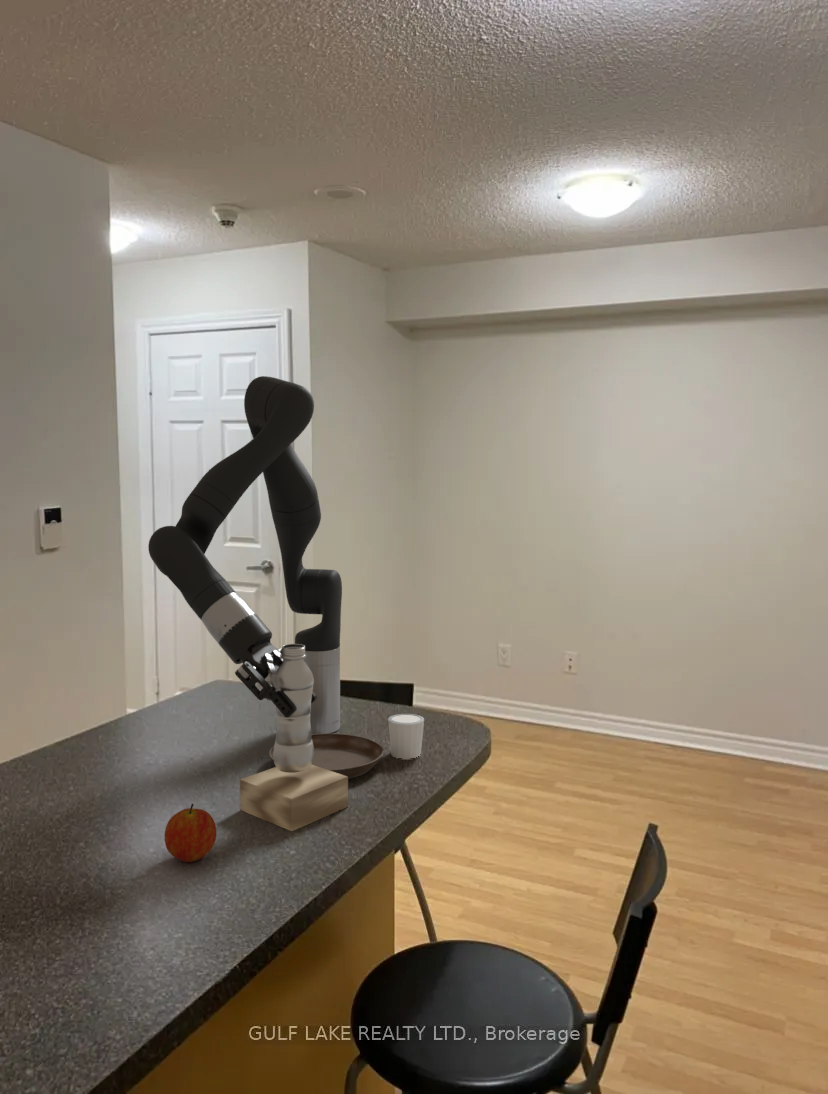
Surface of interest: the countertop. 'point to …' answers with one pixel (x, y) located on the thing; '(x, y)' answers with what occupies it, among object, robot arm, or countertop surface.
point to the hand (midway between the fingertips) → (302, 707)
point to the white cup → (406, 735)
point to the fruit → (190, 834)
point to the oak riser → (293, 796)
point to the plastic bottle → (295, 730)
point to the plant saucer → (344, 753)
